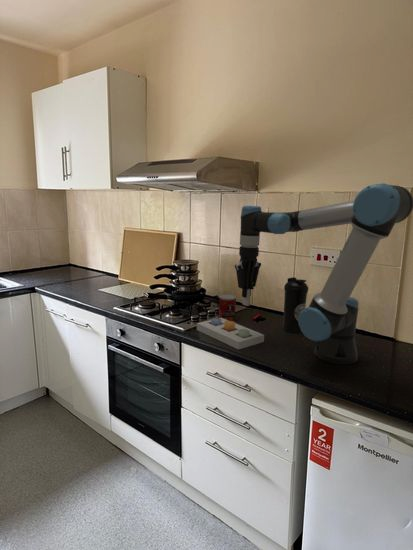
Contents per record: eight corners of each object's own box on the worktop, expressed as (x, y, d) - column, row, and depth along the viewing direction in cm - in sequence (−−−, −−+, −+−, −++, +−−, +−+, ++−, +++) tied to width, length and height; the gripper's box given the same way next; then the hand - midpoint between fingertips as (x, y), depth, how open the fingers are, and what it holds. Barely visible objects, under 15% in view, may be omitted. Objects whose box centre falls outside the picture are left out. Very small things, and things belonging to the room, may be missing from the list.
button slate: (223, 328, 167) (223, 320, 167) (215, 330, 165) (215, 321, 164) (216, 325, 171) (216, 317, 170) (208, 327, 168) (209, 319, 167)
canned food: (221, 322, 178) (222, 299, 176) (216, 316, 186) (217, 294, 184) (237, 321, 180) (238, 298, 178) (231, 316, 188) (232, 294, 186)
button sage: (251, 340, 155) (251, 331, 154) (243, 342, 152) (243, 333, 151) (243, 336, 158) (244, 328, 157) (235, 339, 155) (236, 330, 154)
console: (263, 341, 156) (264, 334, 155) (238, 349, 147) (238, 342, 147) (221, 324, 176) (221, 317, 175) (196, 329, 167) (196, 323, 166)
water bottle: (292, 335, 165) (297, 282, 160) (276, 327, 173) (280, 277, 169) (309, 331, 171) (314, 280, 166) (292, 324, 179) (296, 275, 174)
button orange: (236, 331, 161) (237, 322, 160) (228, 333, 158) (229, 324, 157) (229, 328, 164) (230, 320, 163) (221, 330, 161) (222, 321, 161)
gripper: (253, 244, 157) (250, 300, 162) (230, 246, 149) (227, 305, 154) (267, 246, 152) (263, 304, 157) (244, 248, 143) (241, 309, 148)
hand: (245, 304), depth 155 cm, fingers closed
